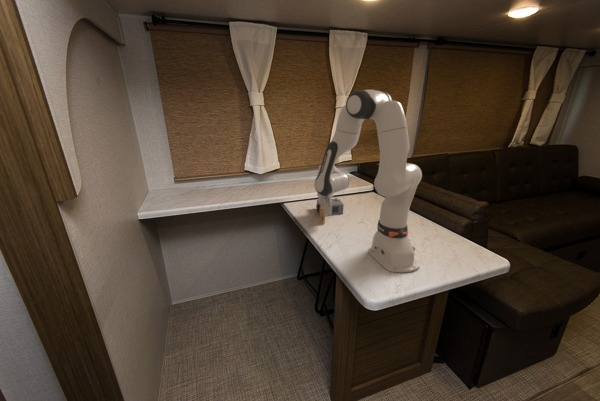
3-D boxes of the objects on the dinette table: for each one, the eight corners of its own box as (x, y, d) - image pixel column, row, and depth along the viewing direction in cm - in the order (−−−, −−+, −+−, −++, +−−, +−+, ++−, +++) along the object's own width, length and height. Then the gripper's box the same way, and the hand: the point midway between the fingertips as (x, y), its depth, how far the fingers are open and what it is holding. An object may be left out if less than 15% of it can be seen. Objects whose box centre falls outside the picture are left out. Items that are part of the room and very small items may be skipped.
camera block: (343, 213, 153) (343, 203, 150) (317, 215, 151) (318, 204, 148) (338, 207, 162) (339, 197, 159) (314, 208, 160) (315, 198, 158)
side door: (322, 224, 139) (322, 215, 137) (318, 215, 151) (318, 206, 149) (324, 224, 139) (325, 215, 137) (320, 214, 151) (321, 206, 149)
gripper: (335, 198, 129) (334, 223, 134) (327, 186, 148) (326, 208, 153) (323, 199, 128) (322, 224, 133) (316, 186, 147) (316, 208, 152)
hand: (324, 215), depth 143 cm, fingers closed, pressing on side door
